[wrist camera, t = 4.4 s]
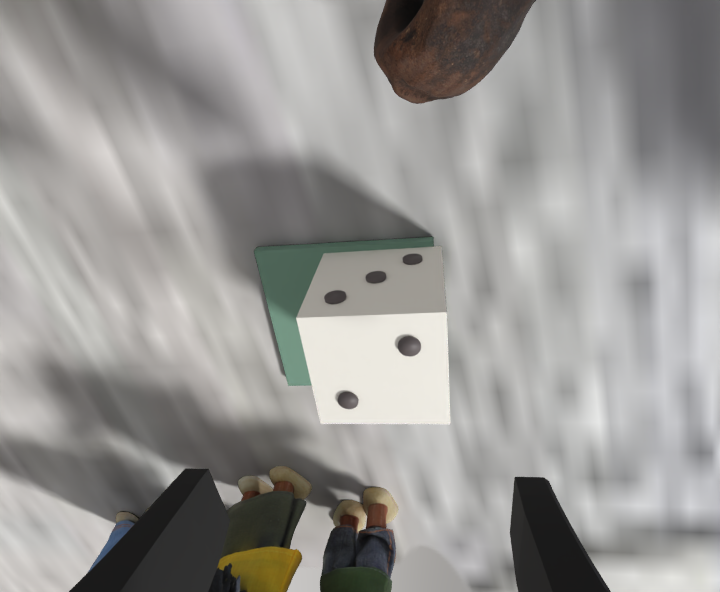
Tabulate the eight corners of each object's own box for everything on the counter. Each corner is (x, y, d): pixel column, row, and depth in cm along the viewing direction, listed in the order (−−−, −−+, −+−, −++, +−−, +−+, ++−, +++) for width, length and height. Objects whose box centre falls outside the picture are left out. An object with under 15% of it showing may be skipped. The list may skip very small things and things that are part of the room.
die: (441, 243, 17) (446, 311, 13) (445, 343, 19) (450, 426, 15) (320, 251, 18) (291, 317, 14) (338, 346, 20) (317, 425, 16)
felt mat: (433, 236, 17) (433, 241, 17) (438, 378, 21) (438, 384, 20) (257, 246, 18) (254, 251, 18) (290, 379, 22) (288, 385, 22)
